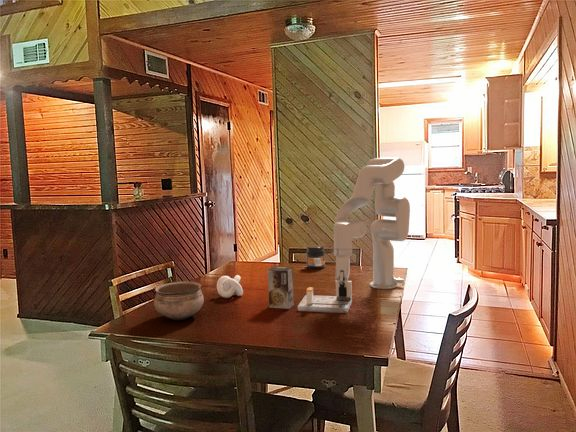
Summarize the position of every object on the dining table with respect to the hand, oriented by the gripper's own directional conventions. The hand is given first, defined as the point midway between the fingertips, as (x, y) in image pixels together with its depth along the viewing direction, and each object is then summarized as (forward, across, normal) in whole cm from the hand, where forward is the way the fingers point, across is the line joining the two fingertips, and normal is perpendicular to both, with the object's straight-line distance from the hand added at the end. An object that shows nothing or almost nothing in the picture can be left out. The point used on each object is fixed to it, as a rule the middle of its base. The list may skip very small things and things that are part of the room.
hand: (343, 293), depth 199 cm
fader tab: (+2, +9, -13) cm, 16 cm away
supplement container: (+4, -66, -24) cm, 70 cm away
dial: (+2, 0, 0) cm, 2 cm away
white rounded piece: (+4, -4, -51) cm, 51 cm away
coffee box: (+4, +8, -25) cm, 27 cm away
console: (+4, +5, -7) cm, 10 cm away
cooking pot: (+4, +28, -61) cm, 67 cm away
